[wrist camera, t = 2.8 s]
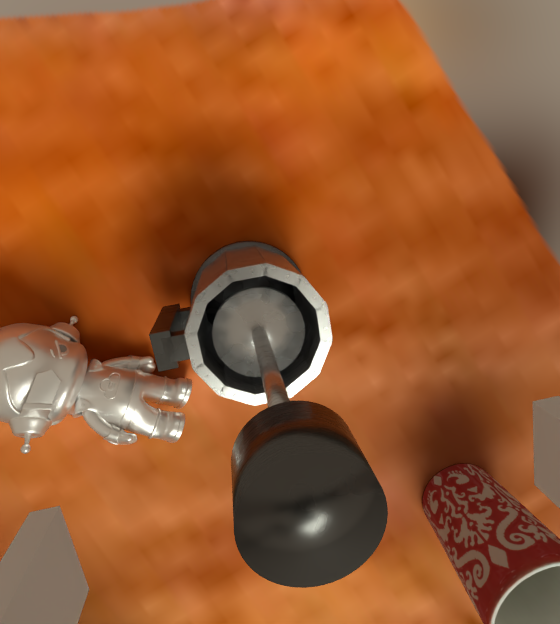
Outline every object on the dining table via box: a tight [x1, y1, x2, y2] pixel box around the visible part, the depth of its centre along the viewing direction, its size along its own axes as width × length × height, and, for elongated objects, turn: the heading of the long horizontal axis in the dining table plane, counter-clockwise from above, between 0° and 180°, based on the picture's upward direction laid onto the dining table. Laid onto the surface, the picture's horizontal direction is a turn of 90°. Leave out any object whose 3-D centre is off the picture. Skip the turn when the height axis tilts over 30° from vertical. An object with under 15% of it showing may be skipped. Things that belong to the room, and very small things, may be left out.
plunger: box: [212, 286, 388, 587], centre depth 20 cm, size 6×6×17 cm
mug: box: [422, 464, 560, 624], centre depth 39 cm, size 13×9×14 cm
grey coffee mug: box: [149, 241, 332, 405], centre depth 32 cm, size 11×9×10 cm
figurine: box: [0, 316, 192, 454], centre depth 34 cm, size 11×7×15 cm
